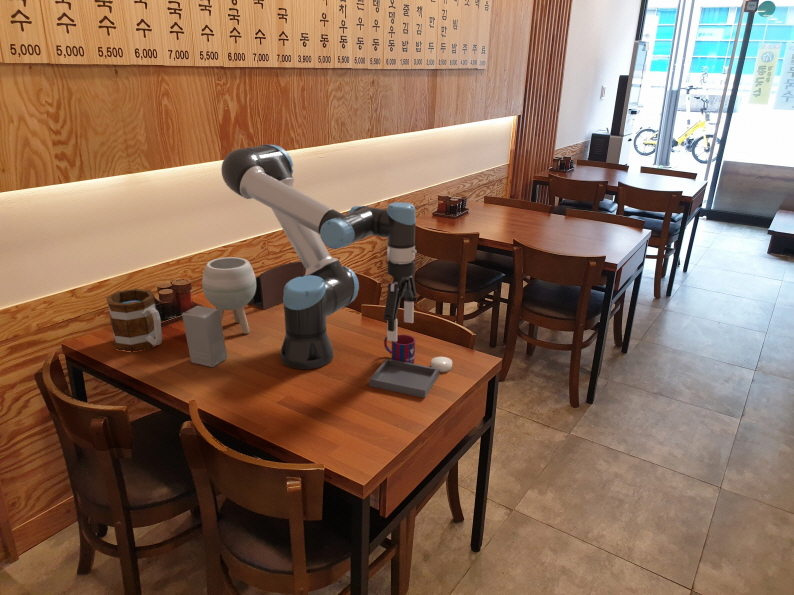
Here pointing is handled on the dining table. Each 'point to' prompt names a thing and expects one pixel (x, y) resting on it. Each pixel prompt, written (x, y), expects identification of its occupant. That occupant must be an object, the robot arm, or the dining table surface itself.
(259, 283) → the letter holder
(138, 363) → the dining table surface
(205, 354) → the skincare box
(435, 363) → the white rounded flat piece
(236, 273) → the planter
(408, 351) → the cup
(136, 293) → the mug
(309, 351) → the robot arm
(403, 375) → the tray
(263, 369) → the dining table surface
